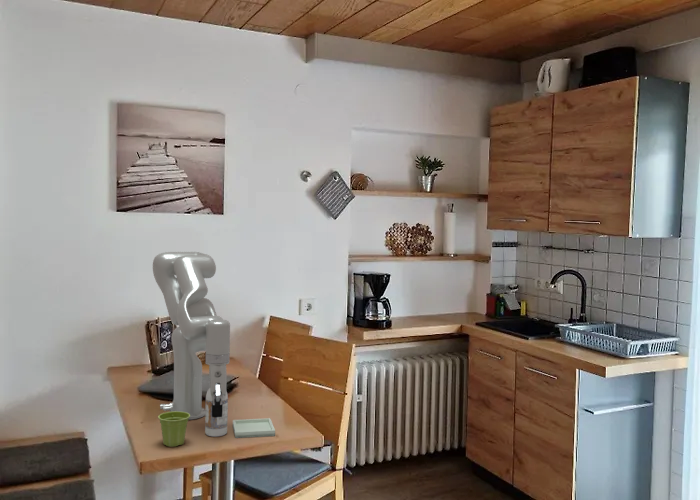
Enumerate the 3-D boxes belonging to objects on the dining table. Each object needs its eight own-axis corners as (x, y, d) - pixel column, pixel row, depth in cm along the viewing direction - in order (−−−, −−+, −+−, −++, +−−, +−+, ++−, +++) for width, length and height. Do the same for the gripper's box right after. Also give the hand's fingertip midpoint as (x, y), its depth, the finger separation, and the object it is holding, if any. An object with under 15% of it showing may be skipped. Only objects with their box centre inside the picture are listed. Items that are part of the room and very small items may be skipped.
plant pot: (161, 438, 202) (161, 410, 201) (191, 438, 202) (192, 411, 202) (154, 449, 192) (155, 420, 192) (186, 449, 193) (187, 420, 193)
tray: (235, 438, 204) (235, 432, 203) (232, 425, 216) (232, 420, 216) (275, 435, 207) (275, 430, 206) (270, 423, 219) (270, 418, 219)
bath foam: (203, 431, 209) (204, 370, 208) (224, 428, 212) (225, 368, 211) (207, 438, 203) (208, 375, 202) (229, 435, 205) (230, 373, 204)
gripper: (231, 364, 198) (230, 421, 199) (227, 352, 215) (226, 404, 216) (206, 365, 197) (205, 422, 198) (204, 352, 213) (203, 405, 214)
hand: (216, 412), depth 207 cm, fingers closed on bath foam, 7 cm apart
